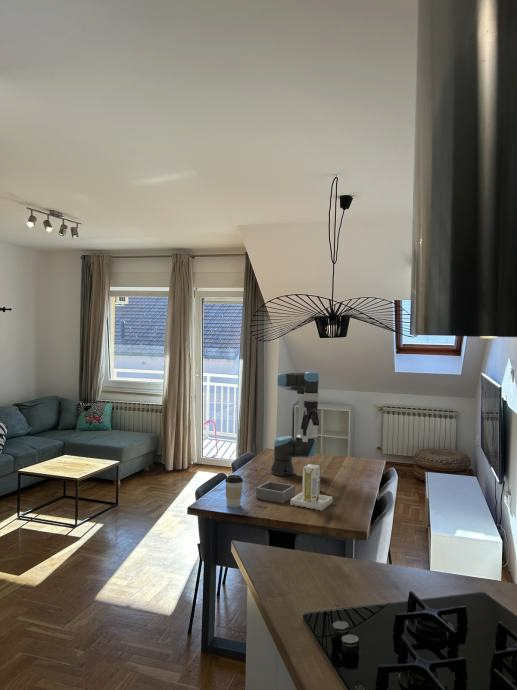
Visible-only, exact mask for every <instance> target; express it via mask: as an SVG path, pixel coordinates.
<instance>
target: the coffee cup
mask: <svg viewBox="0 0 517 690" xmlns="http://www.w3.org/2000/svg"><path fill="white" fill-rule="evenodd" d="M224 479H225V480H224V481H225V498H226V506H227V507H228V506H229V507H228V508H239V507H241V499H242V494H243V493H242V492H243V483H244V478H243V477H242V476H241V475H238V474H230V475H227V477H225V478H224Z"/></svg>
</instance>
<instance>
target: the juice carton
mask: <svg viewBox="0 0 517 690" xmlns="http://www.w3.org/2000/svg"><path fill="white" fill-rule="evenodd" d="M306 465H307V466H303V468H302V484H301V485H302V487H301V492H302V501H305V502H311V503H317V502H318V501H319V494H320V491H319V489H320V490H321V474H320V467H321V466H320V465H318V464H312V463H308V464H306ZM319 466H320V467H319Z"/></svg>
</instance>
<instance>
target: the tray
mask: <svg viewBox="0 0 517 690" xmlns="http://www.w3.org/2000/svg"><path fill="white" fill-rule="evenodd" d="M289 500H290V501H289V505H290V506H292V505H295V506H294V507H297V506H301V507H300V508H302V507H306V508H305V509H307V508H311V509H310V510H312V509H316V510H315V511H317V510H320V511H319V512H322V511H323V510H325V509H326V508H328V507H329V506H330V505H331V504H332V503H333V496H329V495H324V494H320V493H319V501H318V502H317V503H311V502H305V501H302V491H301V492H300V493H298V494H295V496H294V497H292V498H290V499H289Z"/></svg>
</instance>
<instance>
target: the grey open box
mask: <svg viewBox="0 0 517 690" xmlns="http://www.w3.org/2000/svg"><path fill="white" fill-rule="evenodd" d="M293 496H294V497H295V496H296V485H293V484H286V483H281V482H276V481H270V480H269V481H266V482H265V483H263V484H260V485H259V486H257V487H256V489H255V499H258V498H259V499H260V500H265V501H269V502H274V501H275V502H274V503H279V502H281V503H280V504H284V503H286V502H288V501H289V500H290V499H292V498H293ZM288 499H289V500H288ZM285 501H286V502H285ZM283 502H284V503H283Z"/></svg>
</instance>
